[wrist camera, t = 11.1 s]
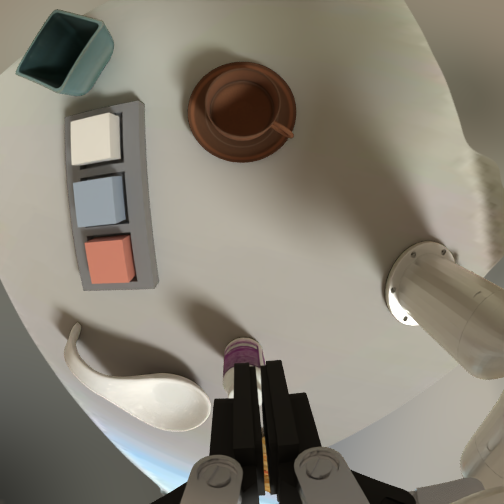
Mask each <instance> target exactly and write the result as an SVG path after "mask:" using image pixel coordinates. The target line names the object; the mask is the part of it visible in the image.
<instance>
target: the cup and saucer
mask: <svg viewBox="0 0 504 504" xmlns="http://www.w3.org/2000/svg"><path fill="white" fill-rule="evenodd" d="M295 120H296V104H295V100H294V96H293V94H292V92H291V90H290V88H289V86H288V85H287V83H286V82H285V81H284V80H283V79H282V78H281V77H280V76H279V75H278V74H277V73H275V72H274V71H273V70H271V69H269V68H267V67H265V66H262V65H260V64H256V63H251V62H234V63H228V64H225V65H222V66H220V67H217V68H215V69H214V70H212V71H210V72H209V73H208V74H206V75H205V76H204V77H203V78H202V79H201V80H200V81H199V82H198V84H197V85H196V87H195V88H194V90H193V92H192V94H191V97H190V100H189V105H188V121H189V125H190V128H191V131H192V133H193V135H194V137H195V138H196V140H197V141H198V142H199V144H200V145H201V146H202V147H203V148H204V149H205V150H207V151H208V152H209V153H211V154H212V155H214V156H216V157H218V158H220V159H223V160H226V161H230V162H240V163H244V162H253V161H257V160H260V159H263V158H265V157H268V156H269V155H271V154H273V153H274V152H276V151H277V150H278V149H279V148H281V147H282V146H283V145H284V143H285V142H286V141H287V139H288V138H293V137H294V134H293V133H292V130H293V128H294V125H295Z"/></svg>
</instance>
